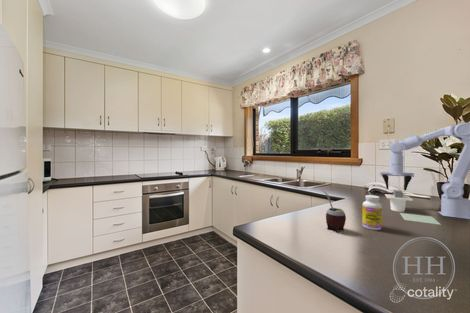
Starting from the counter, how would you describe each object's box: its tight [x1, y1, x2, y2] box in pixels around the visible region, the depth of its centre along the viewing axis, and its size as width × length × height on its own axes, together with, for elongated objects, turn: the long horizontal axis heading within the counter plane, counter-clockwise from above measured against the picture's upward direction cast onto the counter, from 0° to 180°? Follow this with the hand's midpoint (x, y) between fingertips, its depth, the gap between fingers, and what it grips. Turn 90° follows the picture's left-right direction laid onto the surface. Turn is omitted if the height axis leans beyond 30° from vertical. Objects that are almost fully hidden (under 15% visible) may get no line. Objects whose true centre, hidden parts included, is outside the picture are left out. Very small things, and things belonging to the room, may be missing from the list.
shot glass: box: [389, 199, 407, 213], centre depth 107 cm, size 7×7×7 cm
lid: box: [384, 189, 414, 202], centre depth 107 cm, size 10×10×4 cm
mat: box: [399, 212, 442, 226], centre depth 94 cm, size 12×12×1 cm
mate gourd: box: [322, 189, 347, 233], centre depth 82 cm, size 8×8×15 cm
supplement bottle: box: [361, 194, 383, 231], centre depth 84 cm, size 7×7×13 cm
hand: (396, 189), depth 112 cm, fingers open, 7 cm apart
